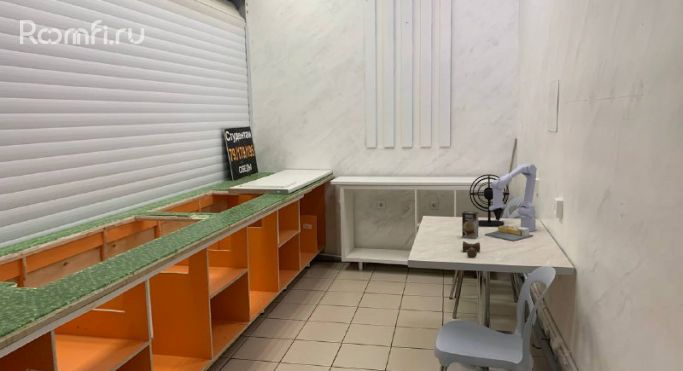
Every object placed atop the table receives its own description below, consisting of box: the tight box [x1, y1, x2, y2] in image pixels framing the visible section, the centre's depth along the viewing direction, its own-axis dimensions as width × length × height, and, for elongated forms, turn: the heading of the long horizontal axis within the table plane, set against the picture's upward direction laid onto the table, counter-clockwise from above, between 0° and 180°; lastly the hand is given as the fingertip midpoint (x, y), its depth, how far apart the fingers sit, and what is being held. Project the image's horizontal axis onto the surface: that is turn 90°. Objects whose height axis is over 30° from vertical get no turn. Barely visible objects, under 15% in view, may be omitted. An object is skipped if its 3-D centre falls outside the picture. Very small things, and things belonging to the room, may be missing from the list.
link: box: [497, 225, 522, 235], centre depth 320 cm, size 16×6×3 cm, turn 30°
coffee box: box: [461, 211, 479, 240], centre depth 318 cm, size 9×6×16 cm
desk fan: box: [469, 173, 511, 227], centre depth 351 cm, size 27×18×35 cm, turn 75°
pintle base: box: [484, 224, 534, 242], centre depth 317 cm, size 19×22×5 cm
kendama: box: [462, 240, 481, 259], centre depth 282 cm, size 6×10×20 cm
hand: (497, 219), depth 320 cm, fingers closed
